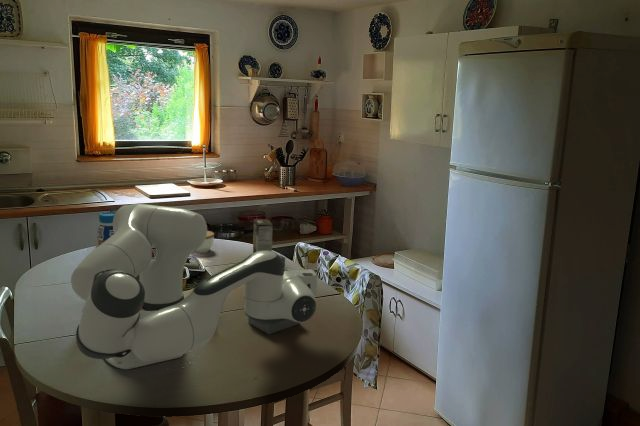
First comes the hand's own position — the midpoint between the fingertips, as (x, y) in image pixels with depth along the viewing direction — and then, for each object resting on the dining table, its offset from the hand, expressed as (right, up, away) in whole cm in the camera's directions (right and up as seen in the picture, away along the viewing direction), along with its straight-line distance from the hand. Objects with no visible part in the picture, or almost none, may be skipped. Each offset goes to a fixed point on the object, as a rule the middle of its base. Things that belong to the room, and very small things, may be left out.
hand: (275, 271), depth 167 cm
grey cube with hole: (-1, -16, +3) cm, 16 cm away
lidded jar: (-37, +1, +71) cm, 80 cm away
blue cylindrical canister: (-68, -2, +50) cm, 84 cm away
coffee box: (-11, -2, +64) cm, 65 cm away
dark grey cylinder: (0, -6, 0) cm, 6 cm away
